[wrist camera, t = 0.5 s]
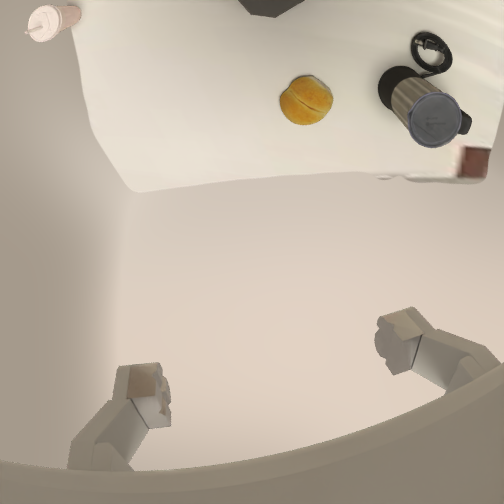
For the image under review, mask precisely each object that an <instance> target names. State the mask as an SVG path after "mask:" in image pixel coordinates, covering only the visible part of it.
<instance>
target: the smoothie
mask: <svg viewBox="0 0 504 504" xmlns="http://www.w3.org/2000/svg"><path fill="white" fill-rule="evenodd" d="M80 18H81V10H80V9H79V8H78V7H77V6H54V5H50V4H48V5H44V6H41V7H39V8H37V9H36V10H35V11H34V12H33V13H32V15H31V16H30V19H29V22H28V30H27V31H25V34H28V33H29V34H30V36H31V37H32V38H33V39H34V40H35V41H38V42H44V41H48V40H50V39H52V38H53V37H55V35H56V34H57V33H59V32H61V31H63V30H65V29H66V28H68V27H70V26H72V25H74V24H75V23H77V22H78V21H79V20H80Z"/></svg>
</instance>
